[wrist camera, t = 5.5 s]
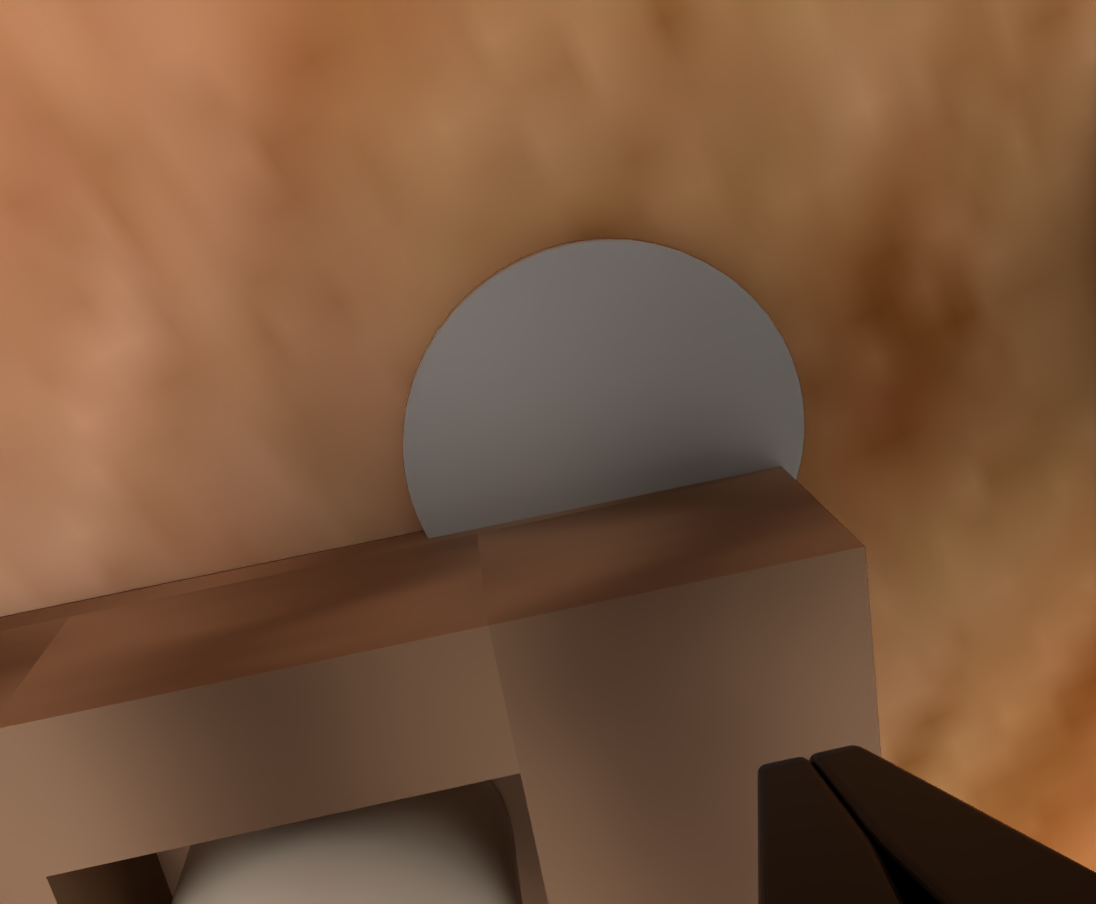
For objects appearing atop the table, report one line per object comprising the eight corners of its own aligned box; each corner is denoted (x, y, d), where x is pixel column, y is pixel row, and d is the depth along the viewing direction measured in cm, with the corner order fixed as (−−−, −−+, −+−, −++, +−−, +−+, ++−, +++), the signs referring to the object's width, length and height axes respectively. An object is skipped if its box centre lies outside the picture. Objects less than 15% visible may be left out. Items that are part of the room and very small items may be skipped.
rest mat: (776, 202, 17) (785, 204, 16) (812, 576, 19) (820, 586, 19) (361, 281, 16) (360, 285, 16) (448, 653, 19) (449, 664, 18)
